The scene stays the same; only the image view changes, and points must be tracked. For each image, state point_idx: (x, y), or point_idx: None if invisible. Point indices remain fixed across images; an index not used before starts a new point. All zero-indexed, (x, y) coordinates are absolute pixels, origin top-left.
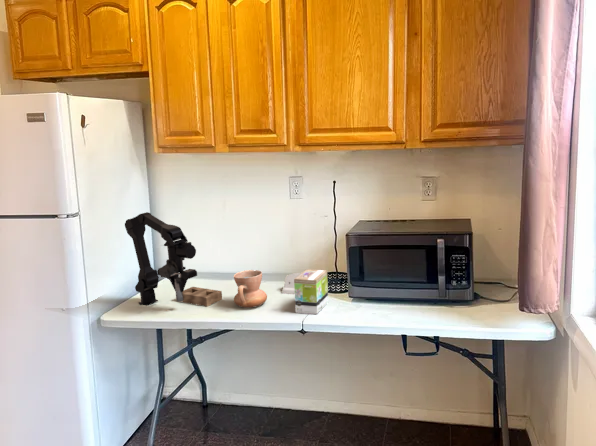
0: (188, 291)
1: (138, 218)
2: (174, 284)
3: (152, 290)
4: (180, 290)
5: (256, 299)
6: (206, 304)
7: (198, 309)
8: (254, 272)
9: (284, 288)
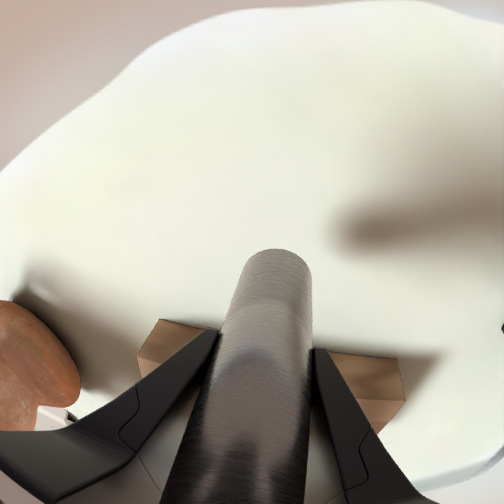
0: None
1: None
2: (322, 429)
3: None
4: (210, 341)
5: None
6: (158, 327)
7: (168, 270)
8: None
9: (63, 422)
